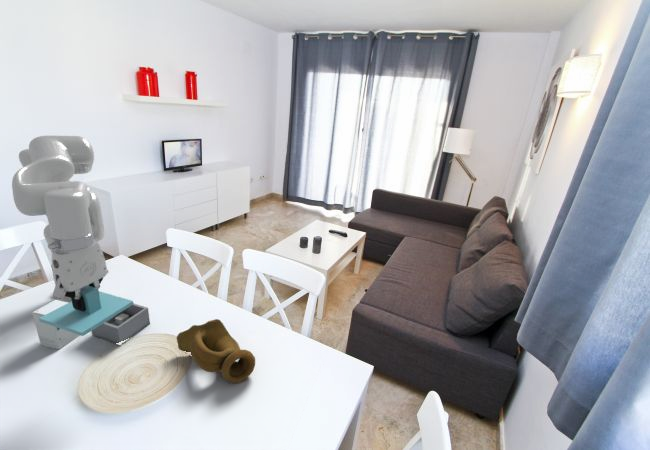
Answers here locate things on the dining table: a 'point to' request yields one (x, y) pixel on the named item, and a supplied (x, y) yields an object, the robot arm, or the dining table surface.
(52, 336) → the supplement box
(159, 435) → the dining table surface
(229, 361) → the brown looped sculpture
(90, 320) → the lid
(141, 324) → the tub
